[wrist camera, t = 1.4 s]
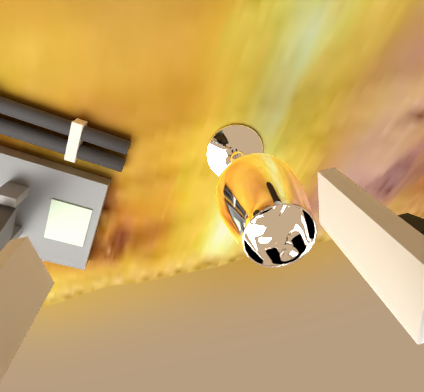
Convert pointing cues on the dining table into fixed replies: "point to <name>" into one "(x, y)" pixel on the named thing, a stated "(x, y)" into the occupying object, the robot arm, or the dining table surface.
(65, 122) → the dressed cords
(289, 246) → the wineglass
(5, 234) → the breaker lever
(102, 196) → the breaker panel
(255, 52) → the dining table surface
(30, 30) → the dining table surface
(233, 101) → the dining table surface
